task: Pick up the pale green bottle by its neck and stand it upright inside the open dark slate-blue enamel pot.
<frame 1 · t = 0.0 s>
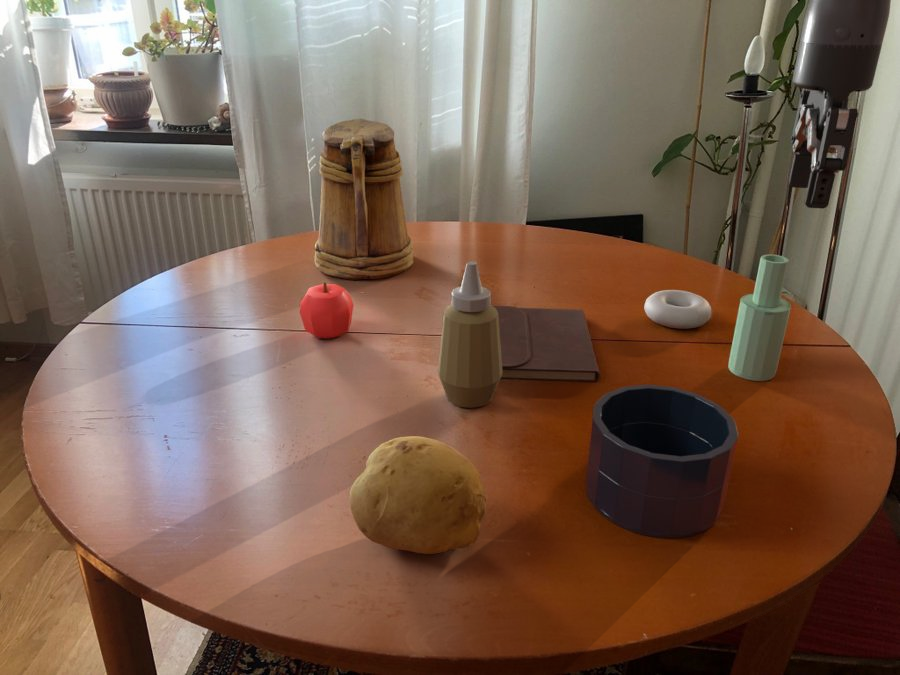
hand: (806, 196, 82), 26 cm above the table, tool pointing down, fingers open, 8 cm apart
donut: (675, 319, 115), on the table
squeeze bottle: (469, 398, 94), on the table
tankard: (365, 268, 135), on the table
pot: (652, 493, 76), on the table
notebook: (537, 347, 107), on the table
potato: (419, 535, 71), on the table
apple: (328, 333, 111), on the table
bottle: (751, 370, 100), on the table
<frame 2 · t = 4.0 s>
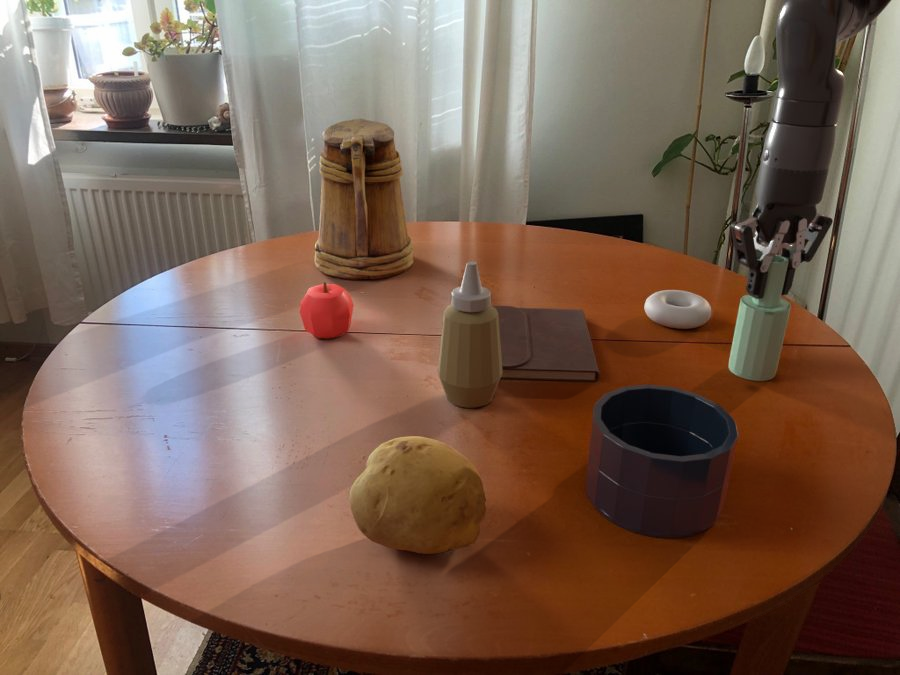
hand: (767, 294, 95), 11 cm above the table, tool pointing down, fingers closed on bottle, 3 cm apart
bottle: (751, 370, 100), on the table, touching gripper
everything else where it was.
when the fingers open (12 cm above the table, at t = 12.3 s): bottle stays where it is, resting on pot.
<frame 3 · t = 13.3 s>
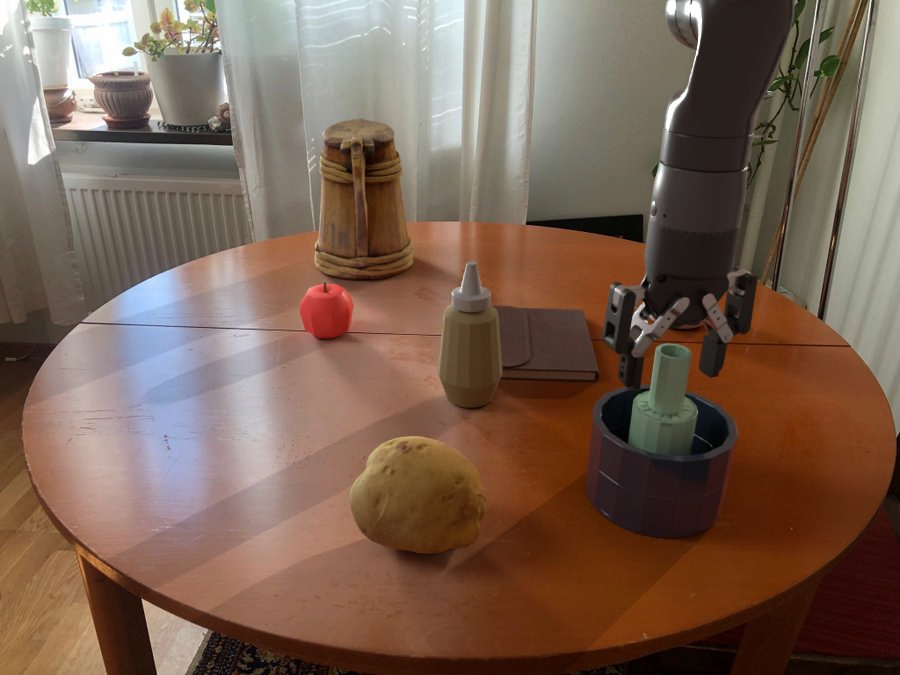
hand: (670, 380, 71), 13 cm above the table, tool pointing down, fingers open, 8 cm apart
bottle: (652, 488, 76), resting on pot
everything else where it was.
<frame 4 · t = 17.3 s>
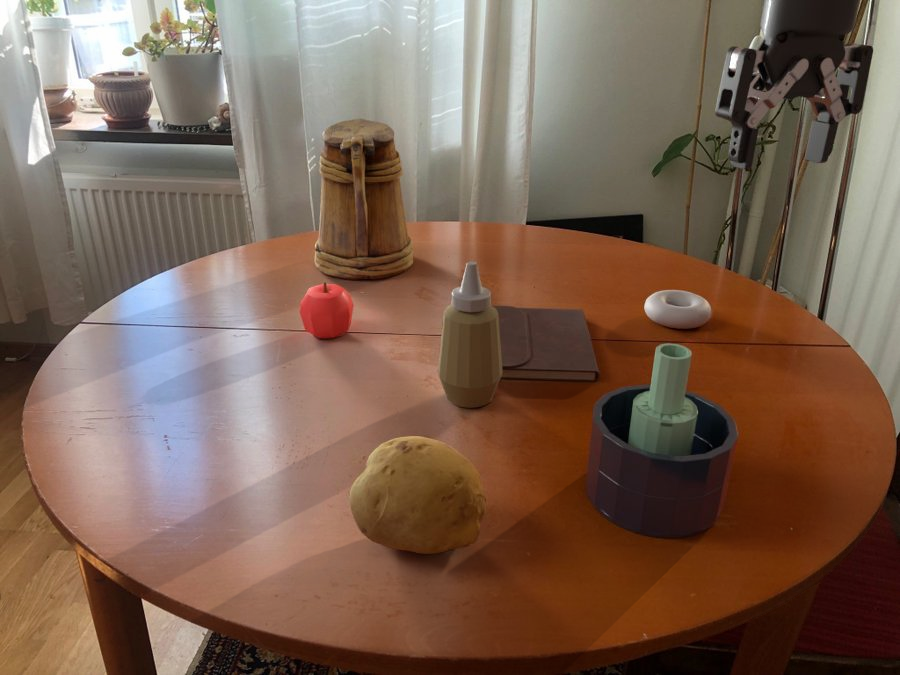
hand: (778, 164, 70), 32 cm above the table, tool pointing down, fingers open, 8 cm apart
nothing on the table moved.
at the end: bottle 0.1 cm off-centre in the pot, point 0.5 cm above the pot's base; bottle tilted 0°; the gripper is holding nothing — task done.
